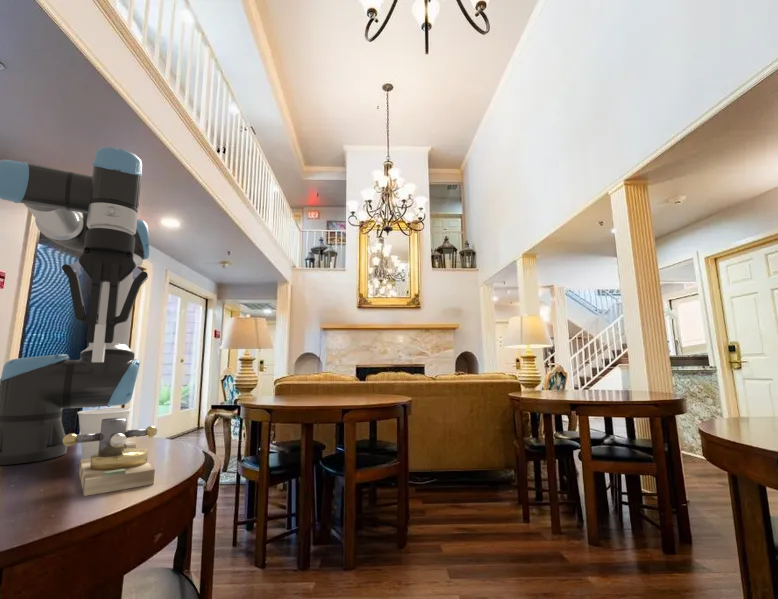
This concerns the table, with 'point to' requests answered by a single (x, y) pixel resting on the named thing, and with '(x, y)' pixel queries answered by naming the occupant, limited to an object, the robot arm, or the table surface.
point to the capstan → (114, 444)
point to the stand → (114, 476)
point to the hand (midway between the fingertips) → (97, 362)
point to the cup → (96, 425)
